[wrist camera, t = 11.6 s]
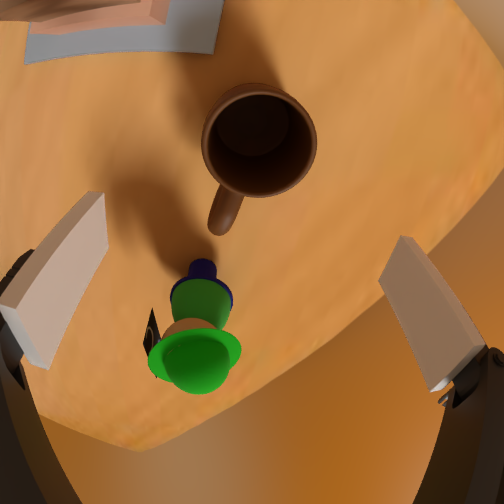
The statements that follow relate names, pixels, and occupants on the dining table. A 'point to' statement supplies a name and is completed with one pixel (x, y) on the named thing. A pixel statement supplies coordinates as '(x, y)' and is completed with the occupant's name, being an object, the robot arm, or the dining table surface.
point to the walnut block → (50, 8)
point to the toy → (195, 333)
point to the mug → (255, 148)
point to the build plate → (128, 30)
